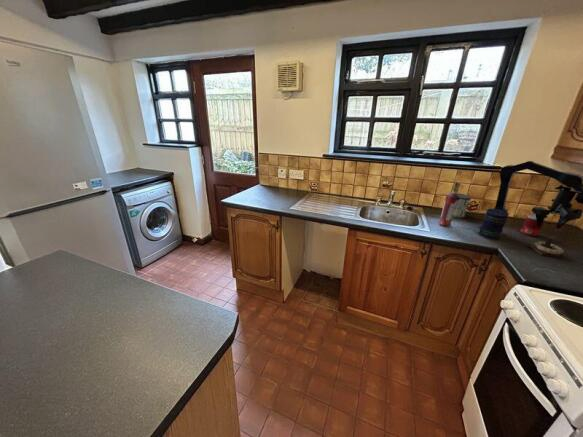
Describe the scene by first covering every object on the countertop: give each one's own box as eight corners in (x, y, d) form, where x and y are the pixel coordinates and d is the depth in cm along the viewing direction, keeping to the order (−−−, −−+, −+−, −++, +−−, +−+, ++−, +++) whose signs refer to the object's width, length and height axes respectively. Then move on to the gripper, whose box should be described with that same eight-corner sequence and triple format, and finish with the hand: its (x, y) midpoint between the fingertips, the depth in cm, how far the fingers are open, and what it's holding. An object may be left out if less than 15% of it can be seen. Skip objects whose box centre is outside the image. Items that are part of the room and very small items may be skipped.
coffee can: (447, 210, 177) (453, 192, 171) (464, 214, 172) (470, 195, 166) (446, 215, 169) (453, 196, 163) (464, 218, 164) (471, 199, 158)
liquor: (442, 221, 158) (456, 179, 147) (453, 226, 152) (468, 183, 141) (434, 223, 155) (448, 180, 144) (445, 228, 149) (460, 184, 138)
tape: (544, 254, 122) (546, 250, 121) (528, 243, 132) (530, 239, 131) (568, 256, 121) (570, 252, 120) (550, 245, 131) (552, 241, 130)
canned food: (540, 237, 142) (549, 220, 137) (525, 235, 143) (533, 218, 139) (531, 231, 149) (539, 215, 144) (516, 230, 150) (524, 213, 146)
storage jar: (474, 231, 145) (482, 209, 139) (489, 230, 146) (498, 208, 140) (488, 240, 137) (497, 216, 130) (504, 238, 137) (514, 215, 131)
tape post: (541, 255, 123) (548, 241, 120) (527, 246, 131) (534, 233, 128) (560, 257, 122) (568, 243, 119) (545, 248, 130) (553, 234, 127)
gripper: (556, 203, 114) (540, 232, 121) (600, 207, 112) (582, 236, 119) (537, 195, 124) (524, 223, 131) (578, 199, 122) (562, 226, 129)
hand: (547, 227), depth 127 cm, fingers open, 9 cm apart
